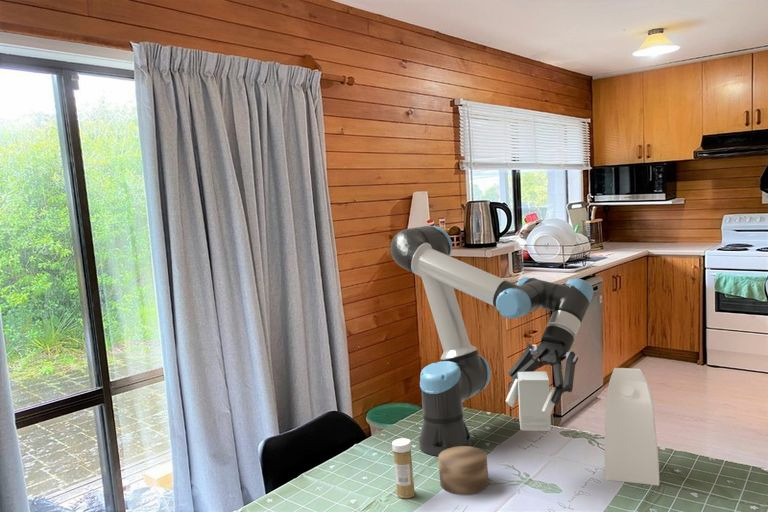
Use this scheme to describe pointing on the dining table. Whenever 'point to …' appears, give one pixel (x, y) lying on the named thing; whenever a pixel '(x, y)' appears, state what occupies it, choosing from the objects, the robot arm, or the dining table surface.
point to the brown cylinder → (463, 470)
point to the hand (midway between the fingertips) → (526, 408)
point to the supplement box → (533, 401)
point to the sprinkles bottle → (403, 468)
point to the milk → (630, 429)
